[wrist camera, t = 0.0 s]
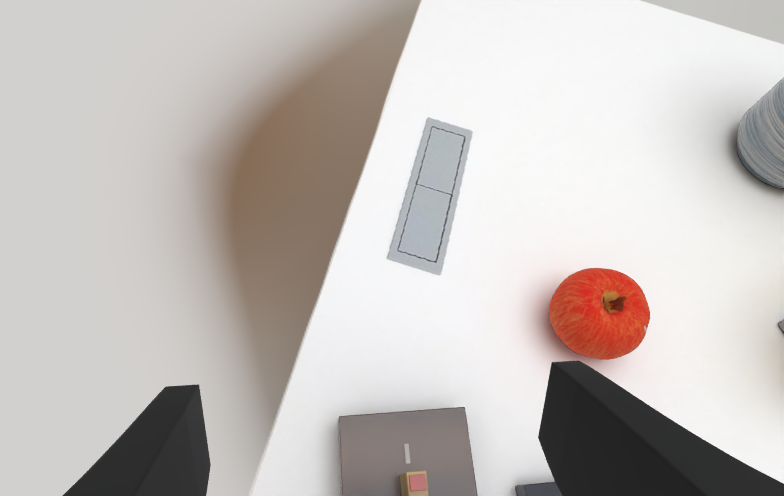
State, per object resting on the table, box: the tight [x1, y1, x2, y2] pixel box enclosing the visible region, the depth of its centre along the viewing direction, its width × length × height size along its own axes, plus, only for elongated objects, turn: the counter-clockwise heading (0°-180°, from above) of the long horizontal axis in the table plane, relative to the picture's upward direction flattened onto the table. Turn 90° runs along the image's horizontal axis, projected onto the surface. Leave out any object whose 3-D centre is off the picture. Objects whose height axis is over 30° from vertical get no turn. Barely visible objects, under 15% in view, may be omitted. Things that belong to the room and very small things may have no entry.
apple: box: [549, 268, 650, 360], centre depth 45 cm, size 8×8×8 cm
